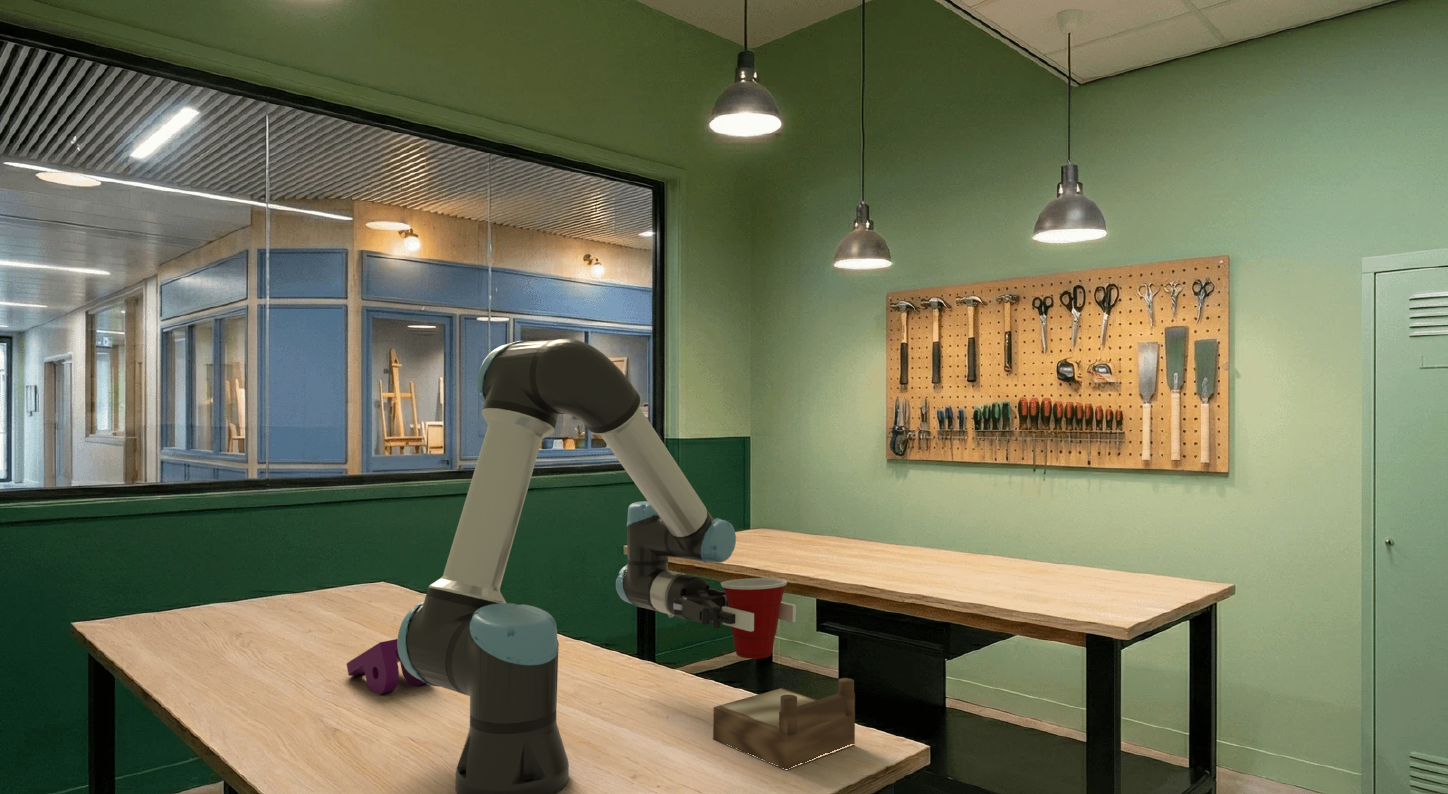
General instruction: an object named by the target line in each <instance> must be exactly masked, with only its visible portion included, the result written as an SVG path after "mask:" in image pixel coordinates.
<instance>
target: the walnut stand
mask: <svg viewBox="0 0 1448 794" xmlns="http://www.w3.org/2000/svg"><path fill="white" fill-rule="evenodd" d="M837 681H838V684H837V685H838V686H837V687H838V688H837V690H838V692H837V693H835V694H833V695H829V696H827V697H823V698H820V699H816V698H815V699H814V698H811V697H809V696H806V695H803V694H800V693H796V692H794V691H791V690H787V689H785V688H781V687H780V688H778V689H774V690H770V691H767V692H766V691H765V692H764V693H759V694H756V695H752V696H748V697H745V698H741V699H738V700H735V701H730V702H728V703H723V704H720V705H716V706H714V707H713V708H712V709H713V711H712V712H713V720H712V721H713V723H712V725H713V729H712V730H713V731H712V734H713V736H712V738H713V740H714V739H715V740H714V741H716V742H719V743H721V744H723V743H724V744H723V745H725V744H728V745H730V746H732V747H734V748H733V749H735V748H737V749H738V750H737V749H736V750H737V751H739V750H741V751H740V752H741V753H744V752H745V753H744V754H746V753H749V754H751V755H754V756H756V757H758V758H760V759H763V760H765V761H767V762H770V763H773V764H775V765H778V766H779V767H782V768H784V769H789V768H791V767H793V766H795V765H798V764H800V763H805V762H807V761H809V760H812V759H814V758H816V757H818V756H820V755H823V754H825V753H830V752H832V751H834V750H837V749H840V748H842V747H845V746H847V745H850V744H855V743H856V742H855V741H856V735H855V734H856V732H855V731H856V692H855V680H854V679H852V678H848V677H842V678H838V680H837ZM728 745H727V746H728ZM855 745H856V744H855ZM730 746H729V747H730ZM732 747H731V748H732ZM749 754H748V755H749ZM751 755H750V756H751ZM756 757H755V758H756ZM758 758H757V759H758ZM760 759H759V760H760ZM763 760H762V761H763ZM765 761H764V762H765ZM767 762H766V763H767ZM770 763H769V764H770ZM779 767H778V768H779ZM784 769H783V770H784ZM789 770H790V769H789Z"/></svg>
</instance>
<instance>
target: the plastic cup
mask: <svg viewBox="0 0 1448 794" xmlns="http://www.w3.org/2000/svg"><path fill="white" fill-rule="evenodd" d="M720 585H721V586H720V587H722V589H723V591H725V595H726V599H727V602H728V607H730V608H734V609H738V610H743V611H747V612H751V613H754V631H751V632H750V631H746V630H742V629H739V628H735V627H731V626H730V627H731V633H732V636H733V637H732V639H733V644H734V651H735V653H736V656H737V657H740V658H744V659H750V660H752V659H753V660H758V659H761V660H762V659H765V658H769V657H771V655H772V652H773V650H774V643H775V638H776V635H777V629H778V625H779V624H778V623H779V619H778V618H779V612H780V606H781V602H783V594H784V590H785V588H786V585H788V581H787V580H786V579H783V578H782V579H781V578H772V577H753V578H751V577H750V578H749V577H748V578H737V579H729V580H724V581H721V582H720Z"/></svg>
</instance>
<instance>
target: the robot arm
mask: <svg viewBox="0 0 1448 794" xmlns="http://www.w3.org/2000/svg"><path fill="white" fill-rule="evenodd" d="M477 389H478V391H480V394H479V396H480V399H481V401H482V402H483V407H482V410H481V415H482V417H483V418H484V421H485V422H486V423H487V427H486V428H487V429H486V432H485V435H484V438H483V441H482V445H481V448H480V451H479V454H478V457H477V460H476V461H477V462H476V465H475V468H474V471H473V475H472V478H471V481H470V485H469V488H468V491H467V494H466V498H465V501H464V505H463V508H462V512H461V514H460V517H459V520H458V521H459V522H458V524H457V528H456V530H455V534H454V538H453V540H452V544H451V548H450V551H449V554H448V557H447V562H446V563H445V567H444V570H443V575H442V576H441V577H440V578H439V579H437V580H436V581H434V582H432V583H431V584H429V586H428V588H427V591H426V595H425V597H424V601H422V602H419V603H418V604H416V605H415V606H414V607H413V609H411V610H409V611H408V612H407V614H406V615H405V616H404V618H403V619H402V621H401V623H400V627H399V630H398V634H397V639H398V640H397V646H398V653H399V657H400V660H401V661H402V663H403V665H404V667H405V669H406V670H407V671H408V672H409V673H410V674H411V675H413V676H414V677H416V678H418V679H420V680H422V681H423V682H425V683H426V685H429V686H432V687H439V688H440V687H441V688H443V689H447V690H450V691H452V692H455V693H458V694H462V695H464V696H468V697H469V730H468V733H467V736H466V738H465V743H464V745H463V747H462V748H463V749H462V752H461V754H460V757H459V759H458V763H457V766H456V769H455V786H454V787H455V788H454V789H455V791H456V793H457V794H556V793H558V792H560V791H561V790H562V789H564V787H566V785H567V784H568V782H569V777H570V776H569V774H570V773H569V772H570V771H569V770H570V769H569V767H570V766H569V758H568V755H567V752H566V749H565V746H564V743H563V740H562V737H561V733H560V731H559V726H558V723H557V708H558V707H557V706H558V705H557V703H558V675H559V674H558V673H559V671H558V669H559V668H558V667H559V646H560V644H559V640H558V627H557V622H556V619H555V618H554V617H553V615H551V614H550V613H549V612H548V611H546V610H544V609H543V608H539V607H536V606H533V605H530V604H523V603H522V604H516V603H512V602H511V603H509V602H507V601H506V600H505V598H504V596H503V594H502V593H501V586H502V582H503V579H504V575H505V572H506V567H507V565H508V561H509V557H510V554H511V550H512V546H513V543H514V539H515V536H516V531H517V528H518V525H519V523H520V522H519V521H520V518H521V514H522V510H523V507H524V503H525V500H526V496H527V494H528V489H529V487H530V484H531V483H530V482H531V479H532V477H533V472H534V468H535V465H536V461H537V458H538V454H539V451H540V446H541V444H542V441H543V439H545V438H547V437H549V436H550V435H552V434H554V433H555V430H556V426H557V422H558V419H559V416H560V415H569V416H572V417H574V418H577V419H578V420H579V421H581V422H582V424H584V426H585V428H586V429H587V431H589V433H591V434H592V435H596V436H597V435H599V436H600V437H601V438H602V439H603V441H604V442H605V444H606V445H607V446H608V448H609V449H610V451H611V452H612V454H613V456H615V458H616V459H617V460H618V462H619V463H620V465H621V466H622V468H623V469H624V471H625V472H626V473H627V475H628V476H629V477H630V479H631V480H632V481H633V483H634V484H635V486H636V487H637V488H638V490H639V491H640V493H641V494H642V495H643V497H644V498H645V500H646V501H645V500H644V501H635V502H633V503H631V504H629V506H628V508H627V519H626V520H627V522H626V536H627V538H626V540H627V541H626V542H627V543H626V547H627V552H626V553H627V562H626V565H625V566H623V567H622V568H621V569H620V570H619V572H618V575H617V578H616V579H615V590H616V592H617V594H618V596H619V598H620V599H621V600H623V601H624V602H625V603H628V604H631V605H632V606H635V607H638V608H643V609H647V610H651V611H655V612H658V613H663V614H667V616H668V618H674V617H676V618H681V619H683V620H688V621H694V622H696V623H699V624H701V625H704V626H707V625H709V624H710V622H711V623H712V629H720V628H721V625H724V626H728V627H735V628H739V629H742V630H746V631H750V632H751V631H754V613H751V612H747V611H743V610H738V609H734V608H730V607H728V602H727V599H726V595H725V591H724V590H720V589H718V588H711V587H710V585H709V584H708V582H707V581H706V580H705V579H704V578H702V577H700V576H696V575H692V574H686V573H682V572H678V571H673V570H669V569H668V568H669V567H668V566H669V564H668V563H669V558H676V559H677V558H678V559H684V560H690V561H696V562H703V563H705V564H706V563H716V564H717V563H718V564H720V563H724V562H726V561H728V560H729V559H730V558H731V556H732V554H733V552H734V551H735V548H736V542H737V536H736V530H735V528H734V526H733V524H732V523H731V522H729V521H728V520H725V519H721V518H719V517H716V518H713V517H712V515H711V513H710V512H709V510H708V509H707V508H706V506H705V504H704V503H703V501H702V499H701V498H700V497H699V495H698V494H697V492H696V490H695V489H694V488H693V486H692V485H691V483H690V482H689V480H688V478H687V477H686V475H685V473H684V472H683V471H682V470H681V468H680V466H679V465H678V463H677V461H676V460H675V459H674V457H673V456H672V454H671V453H670V451H669V450H668V448H667V447H666V445H665V444H664V442H663V441H662V439H661V438H660V436H659V435H658V433H657V432H656V430H655V428H654V427H653V426H652V424H651V422H650V421H649V419H648V418H647V416H646V414H645V413H644V411H643V410H642V409H641V406H642V398H641V395H640V394H639V393H638V391H637V389H636V388H635V387H634V385H633V384H632V383H631V381H630V380H629V378H628V377H627V375H626V374H625V373H624V372H623V371H622V370H621V369H620V368H619V367H618V366H617V365H616V364H615V363H614V362H613V361H612V360H611V359H610V358H609V357H608V356H607V355H606V354H604V353H603V352H601V351H600V350H599V349H597V348H596V347H594V346H592V345H590V344H589V343H588V342H584V341H581V340H579V339H575V338H574V339H572V338H559V339H558V338H557V339H551V340H549V339H548V340H534V341H533V340H532V341H530V340H518V341H514V342H511V343H506V344H503V345H500V346H498V347H496V348H495V349H493V350H491V352H489V354H487V356H486V357H485V358H484V360H483V361H482V364H481V365H480V367H479V371H478V374H477ZM778 620H782V621H784V622H785V621H786V622H789V623H796V621H797V605H796V604H793V603H791V602H790V603H789V602H784V601H781V606H780V612H779V618H778Z"/></svg>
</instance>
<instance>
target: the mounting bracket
mask: <svg viewBox="0 0 1448 794" xmlns="http://www.w3.org/2000/svg"><path fill="white" fill-rule="evenodd" d="M397 640H398V638H395V639H391V640H385V641H379V642H378V643H377V644H375V645H373V646H372V647H370V648H368V649H367V650H366V651H364V652H362V653H361V654H358V656H356V657H354V658H352V659H351V660H349V661H347V663H346V669H347V675H348V676H349V677H355V676H359V675H363V674H365V675H364V676H365V681H366V682H367V686H368V689H369V691H371V693H374V694H375V695H378V696H380V695H384V694H389V693H392V692H394V691H395V690H396V688H397V686H398V683H399V674H400V672H399V671H400V670H399V665H398V663H399V664H400V668H401V672H402V676H403V678H404V680H405V682H406V683H407V684H409V685H411V686H413V687H417V686H422V685H425V684H426V685H427V683H425V682H423V681H422V680H420V679H418V678H416V677H414V676H413V675H411V674H410V673H409V672H408V671H407V670H406V669H405V667H404V665H403V663H402V661H401V660H400V657H399V653H398V646H397Z"/></svg>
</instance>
